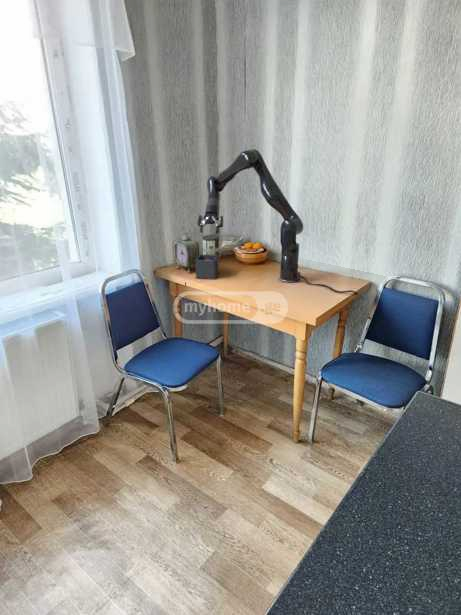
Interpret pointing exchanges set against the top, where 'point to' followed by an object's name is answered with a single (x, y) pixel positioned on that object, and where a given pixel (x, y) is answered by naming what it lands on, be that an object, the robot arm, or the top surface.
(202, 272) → the bin
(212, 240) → the lantern
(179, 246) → the tabletop clock
